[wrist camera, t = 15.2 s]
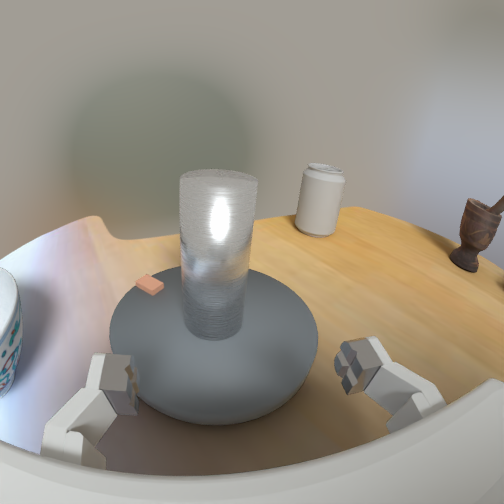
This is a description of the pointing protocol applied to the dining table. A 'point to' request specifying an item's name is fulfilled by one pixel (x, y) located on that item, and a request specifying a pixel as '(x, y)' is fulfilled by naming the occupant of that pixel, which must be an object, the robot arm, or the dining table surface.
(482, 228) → the mortar and pestle
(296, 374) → the disc
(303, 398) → the dining table surface
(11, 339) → the chinaware
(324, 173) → the can
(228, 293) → the clear drinking glass
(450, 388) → the dining table surface
